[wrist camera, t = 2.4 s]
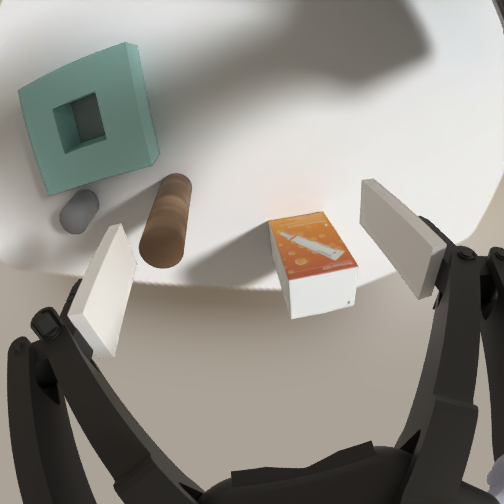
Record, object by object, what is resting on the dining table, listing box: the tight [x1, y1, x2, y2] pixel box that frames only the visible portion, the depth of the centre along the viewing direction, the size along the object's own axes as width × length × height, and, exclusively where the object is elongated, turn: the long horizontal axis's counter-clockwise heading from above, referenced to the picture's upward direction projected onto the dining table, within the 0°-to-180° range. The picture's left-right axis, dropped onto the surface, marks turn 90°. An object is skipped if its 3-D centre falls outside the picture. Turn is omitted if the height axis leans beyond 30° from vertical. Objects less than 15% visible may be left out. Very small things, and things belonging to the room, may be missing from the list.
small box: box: [268, 212, 359, 319], centre depth 37 cm, size 8×6×13 cm
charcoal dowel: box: [60, 189, 99, 234], centre depth 33 cm, size 4×4×5 cm
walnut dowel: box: [139, 173, 192, 268], centre depth 31 cm, size 4×4×14 cm
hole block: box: [18, 42, 160, 196], centre depth 27 cm, size 14×14×5 cm
